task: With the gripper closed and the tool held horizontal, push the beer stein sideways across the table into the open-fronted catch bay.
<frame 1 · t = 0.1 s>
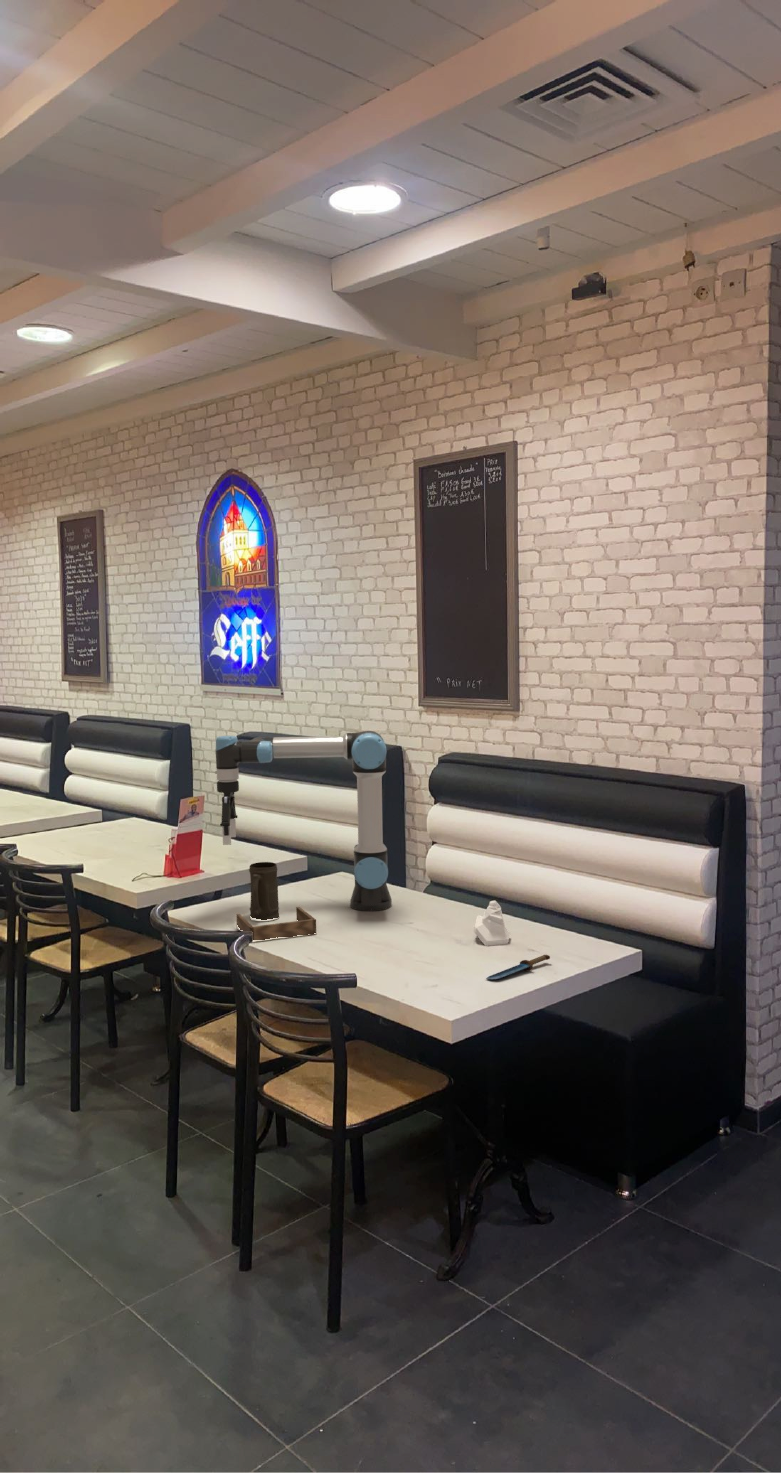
hand: (229, 840, 361), 28 cm above the table, fingers open, 13 cm apart
beer stein: (263, 920, 362), on the table
knife: (519, 972, 301), on the table
catch bay: (276, 931, 347), on the table
white faceted rock: (491, 940, 334), on the table
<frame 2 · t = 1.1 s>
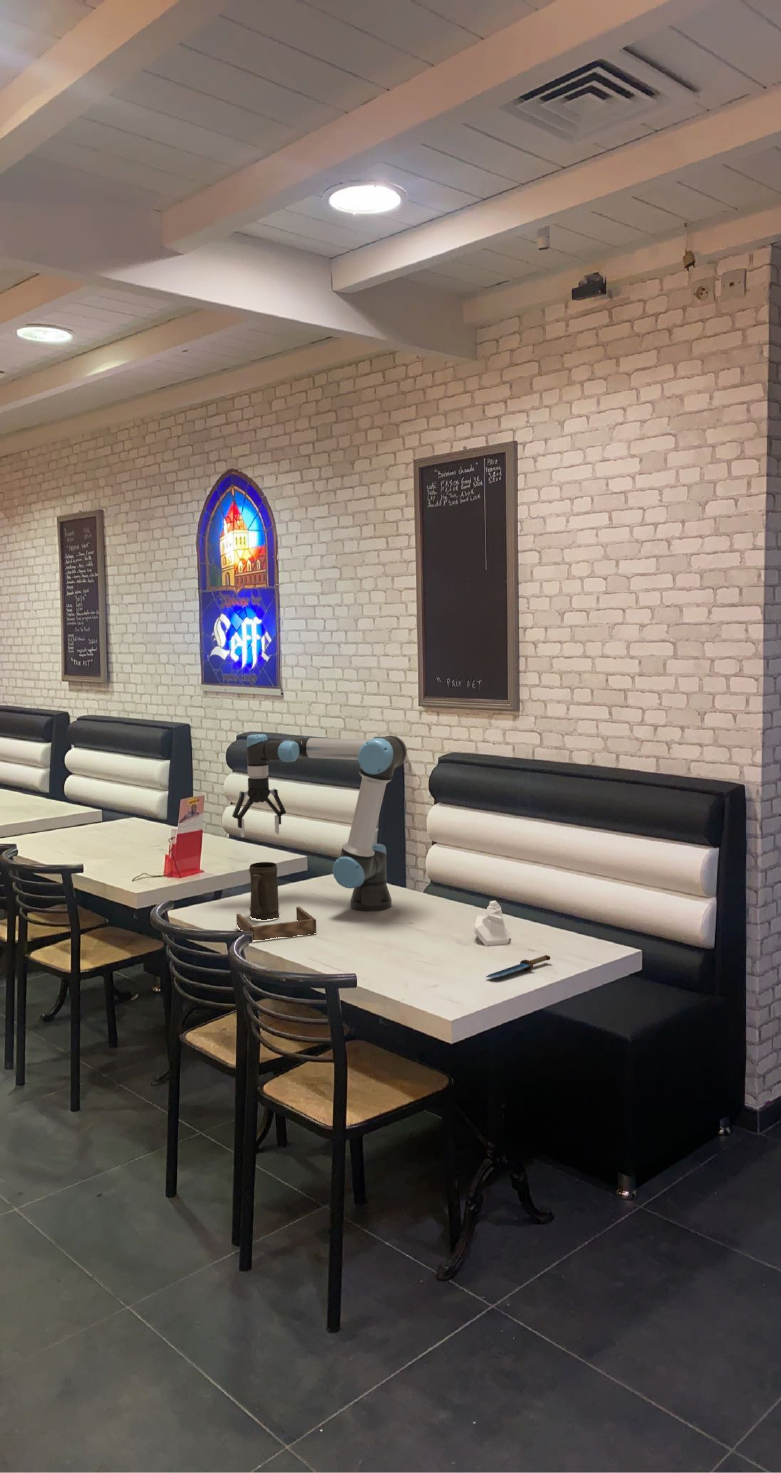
hand: (260, 835, 379), 26 cm above the table, fingers open, 12 cm apart
nothing on the table moved.
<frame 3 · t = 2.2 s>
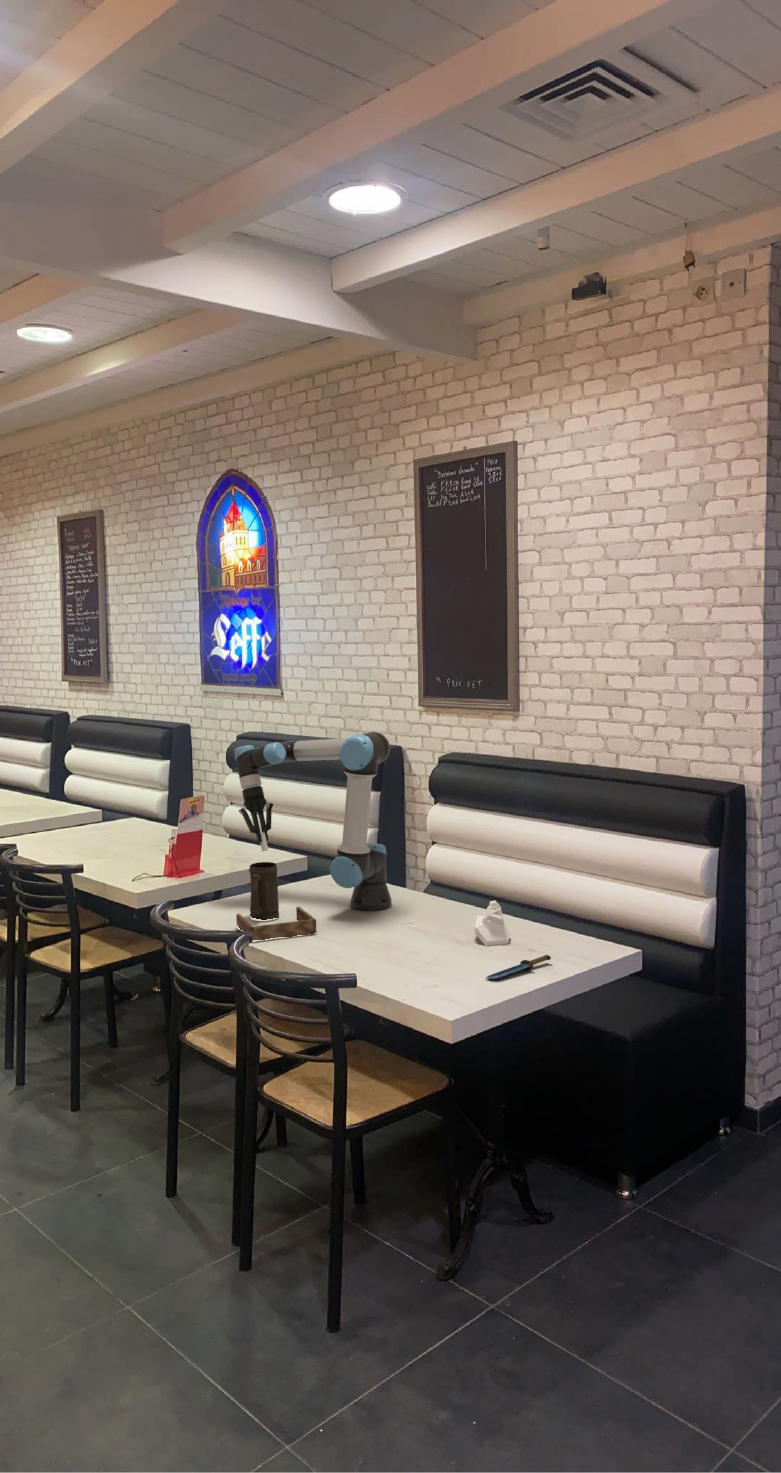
hand: (265, 850, 377), 21 cm above the table, fingers closed
nothing on the table moved.
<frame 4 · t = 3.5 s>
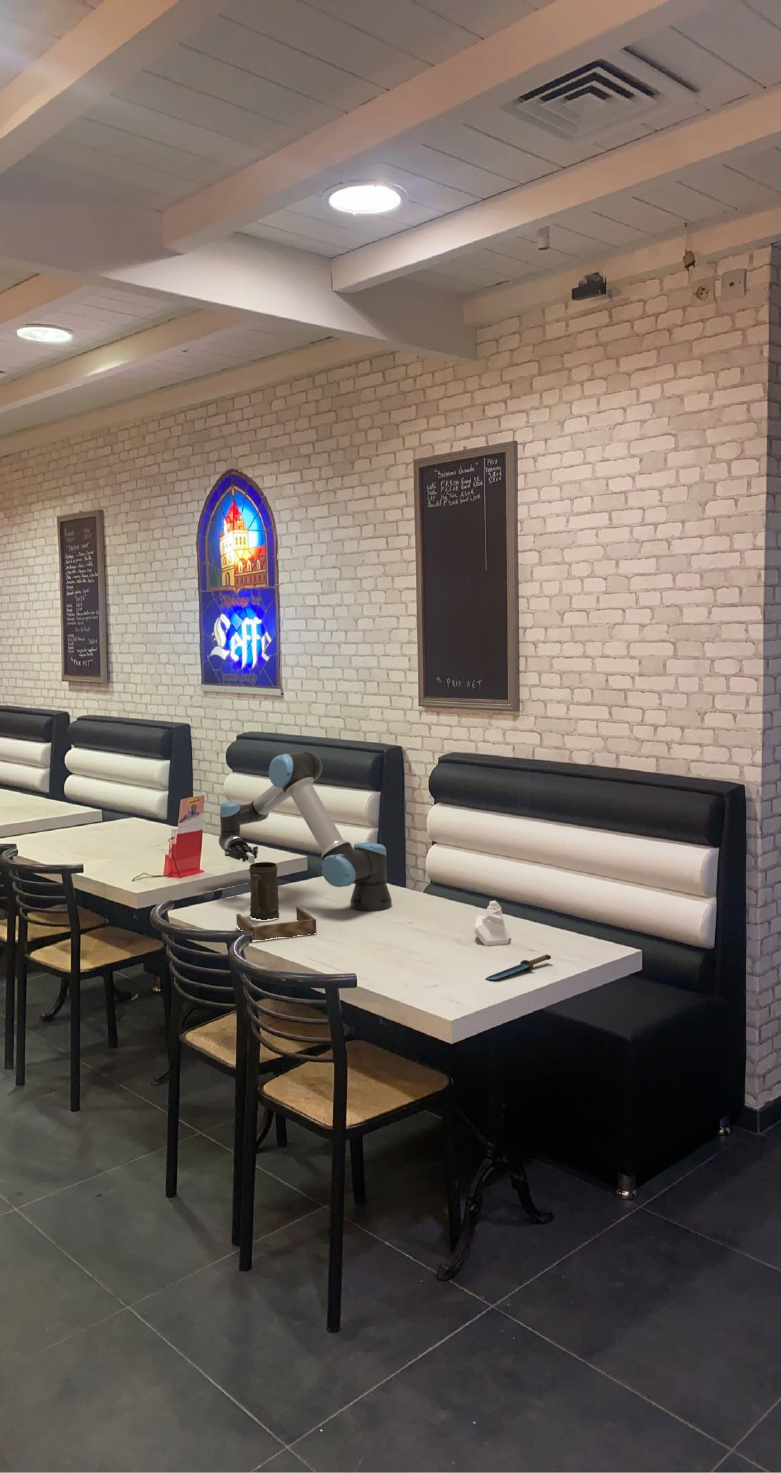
hand: (252, 859, 372), 19 cm above the table, fingers closed
nothing on the table moved.
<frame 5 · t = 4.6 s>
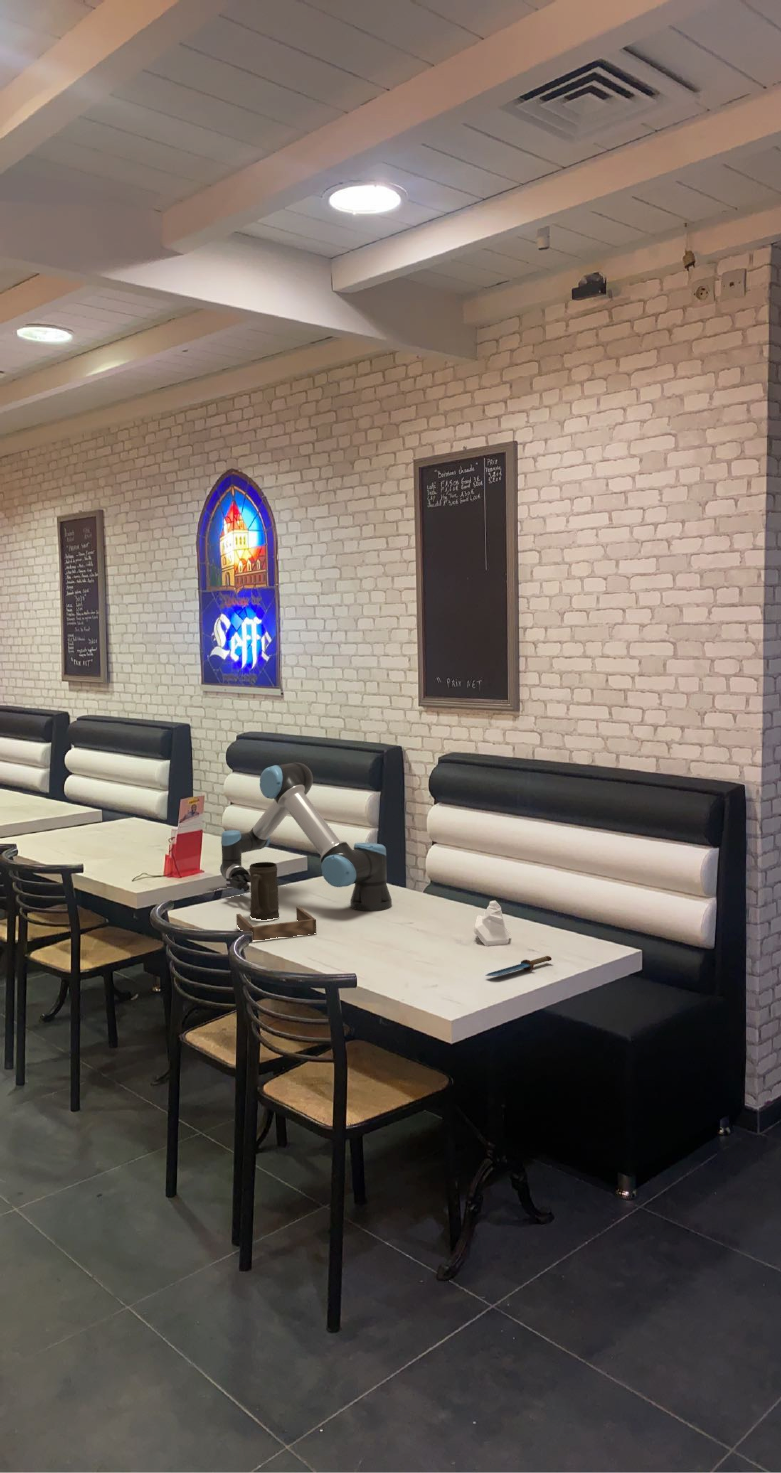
hand: (253, 889, 373), 8 cm above the table, fingers closed
nothing on the table moved.
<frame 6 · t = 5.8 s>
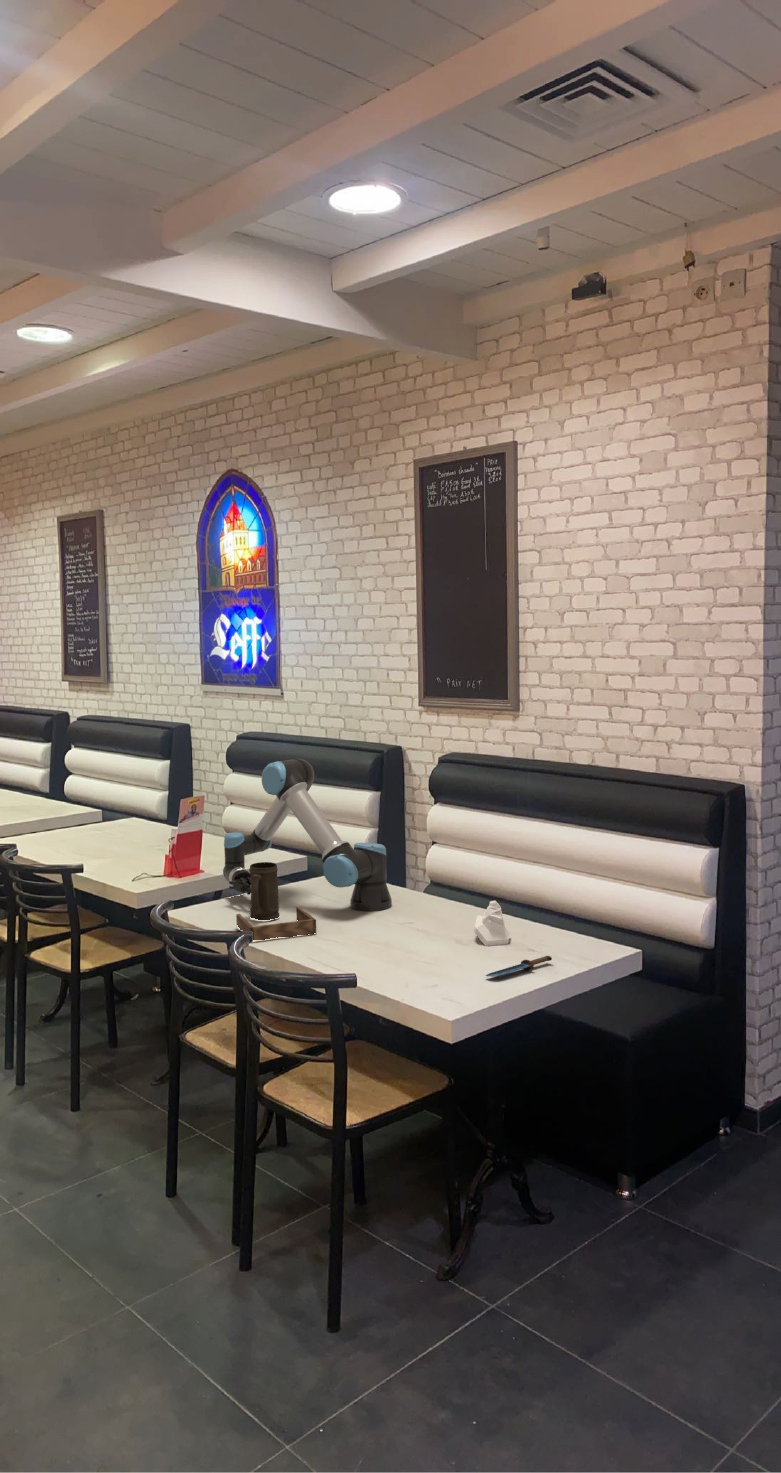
hand: (257, 892, 368), 8 cm above the table, fingers closed
beer stein: (263, 920, 362), on the table, touching gripper
everything else where it was.
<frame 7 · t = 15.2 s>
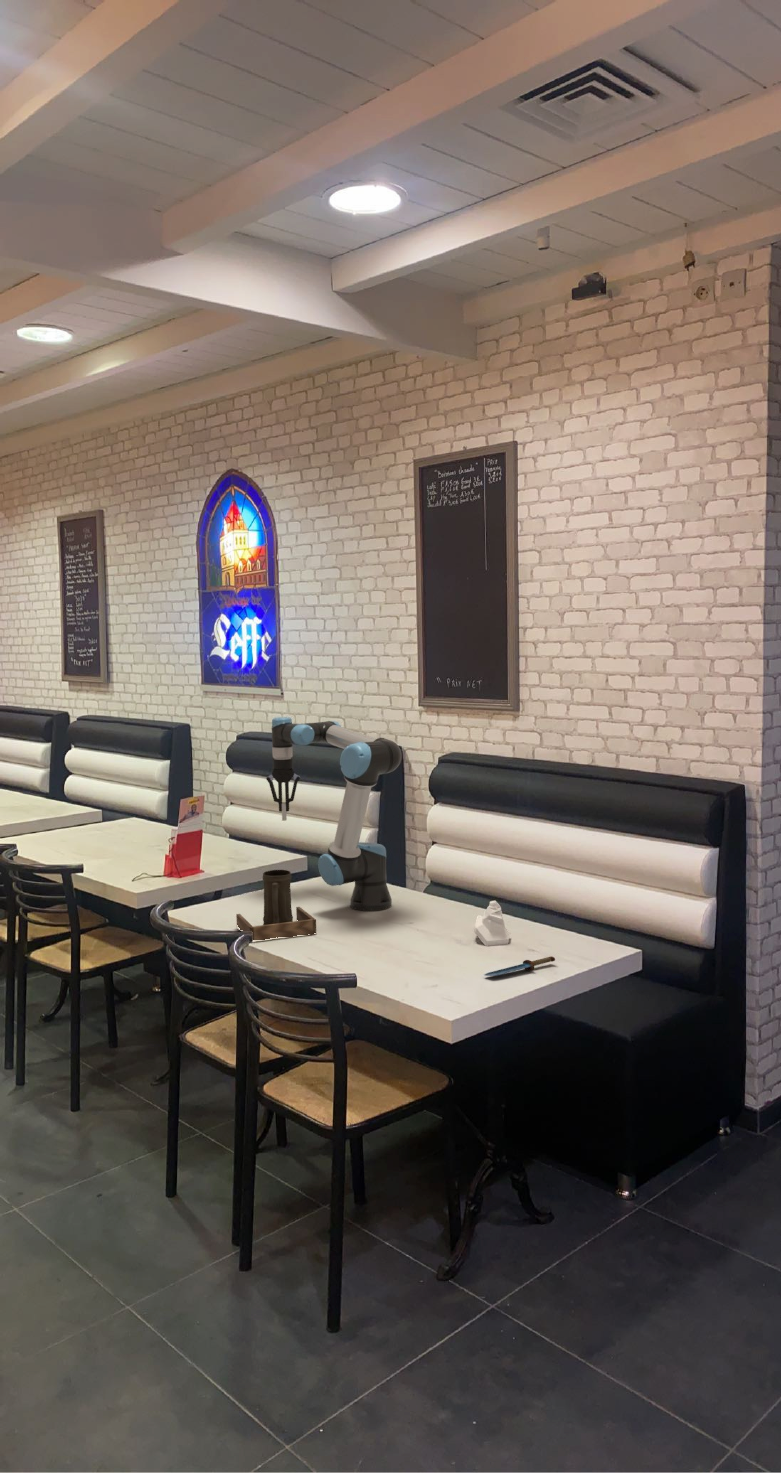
hand: (284, 819, 392), 29 cm above the table, fingers closed
beer stein: (278, 930, 350), on the table
at the end: beer stein 2.3 cm from the catch bay (horizontally); beer stein tilted 1° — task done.
